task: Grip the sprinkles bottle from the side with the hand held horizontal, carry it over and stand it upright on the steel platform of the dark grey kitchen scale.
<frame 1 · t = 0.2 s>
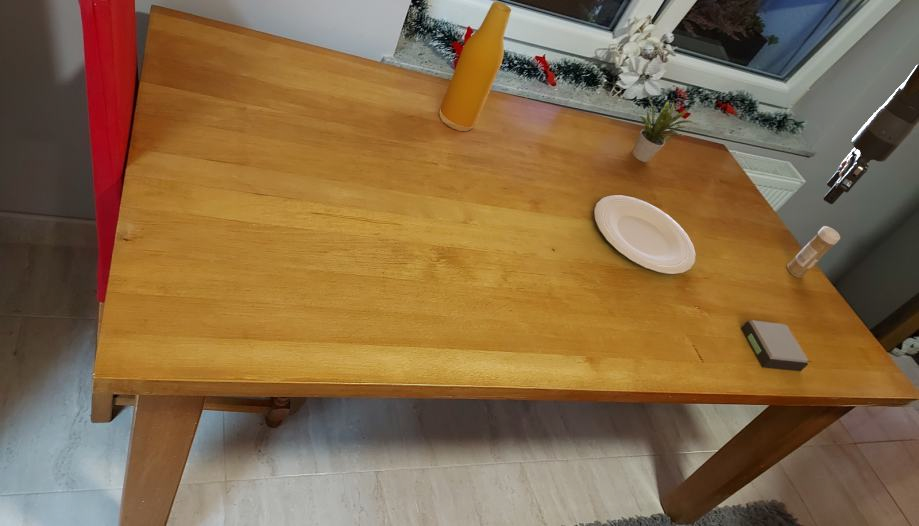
hand: (828, 194, 146), 23 cm above the table, tool pointing down, fingers open, 8 cm apart
plate: (640, 238, 153), on the table
scale: (770, 349, 140), on the table
house plant: (644, 159, 180), on the table
beer bottle: (455, 121, 161), on the table
sprinkles bottle: (793, 272, 166), on the table
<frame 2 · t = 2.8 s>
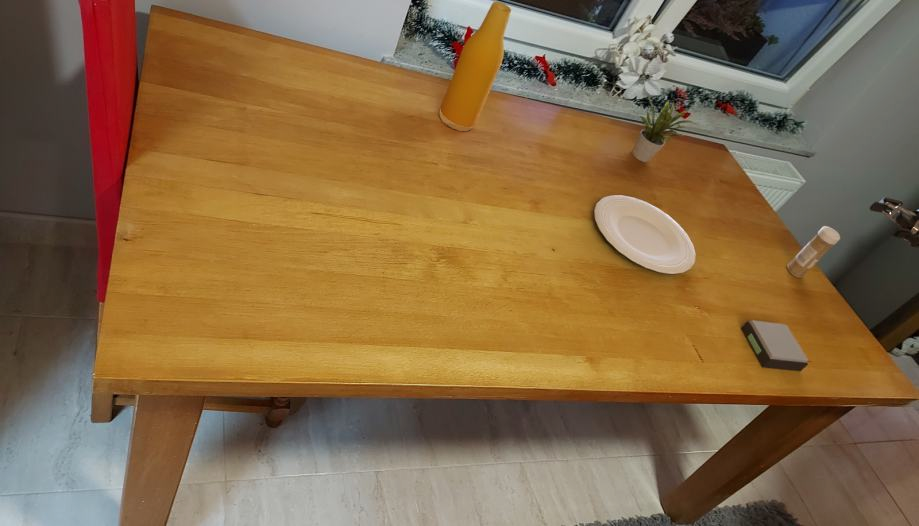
hand: (883, 218, 155), 20 cm above the table, tool horizontal, fingers open, 8 cm apart
nothing on the table moved.
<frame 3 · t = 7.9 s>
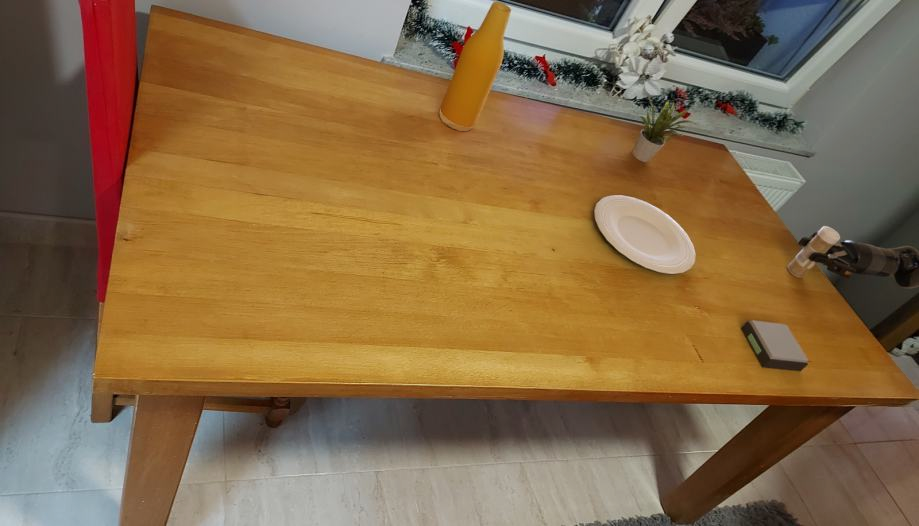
hand: (806, 248, 160), 8 cm above the table, tool horizontal, fingers closed on sprinkles bottle, 4 cm apart
sprinkles bottle: (793, 272, 166), on the table, touching gripper
everything else where it was.
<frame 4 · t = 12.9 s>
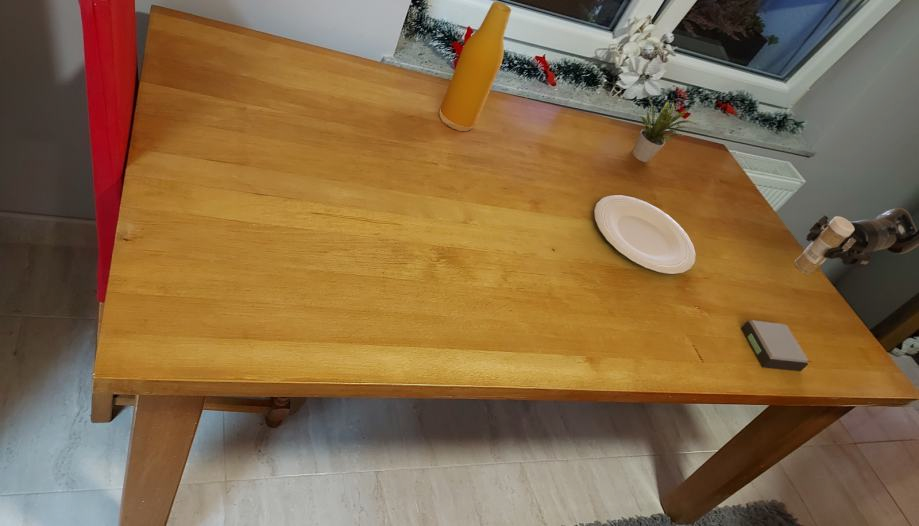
hand: (818, 245, 141), 17 cm above the table, tool horizontal, fingers closed on sprinkles bottle, 4 cm apart
sprinkles bottle: (801, 268, 147), point 10 cm above the table, touching gripper
everything else where it was.
when the fingers open (11 cm above the table, at t = 18.3 s): sprinkles bottle stays where it is, resting on scale.
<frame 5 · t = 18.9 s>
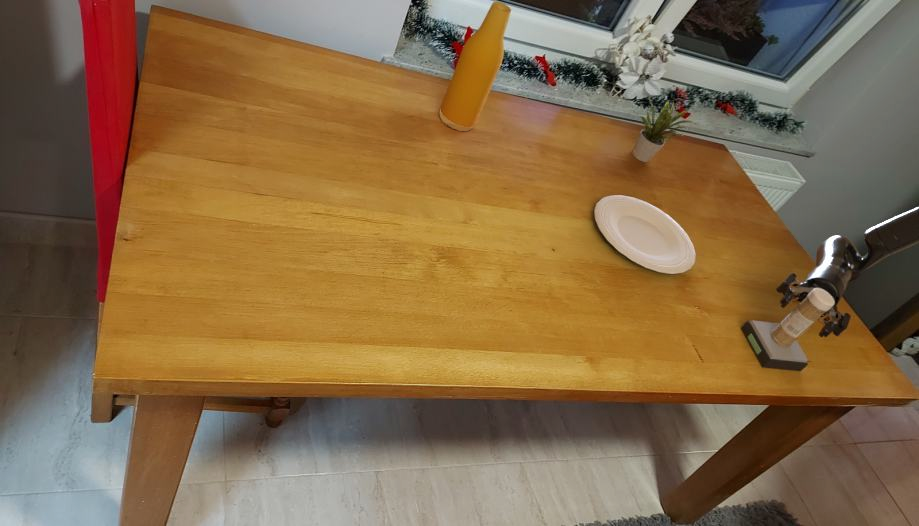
hand: (804, 318, 131), 11 cm above the table, tool horizontal, fingers open, 8 cm apart
sprinkles bottle: (779, 339, 138), point 3 cm above the table, touching scale
everything else where it was.
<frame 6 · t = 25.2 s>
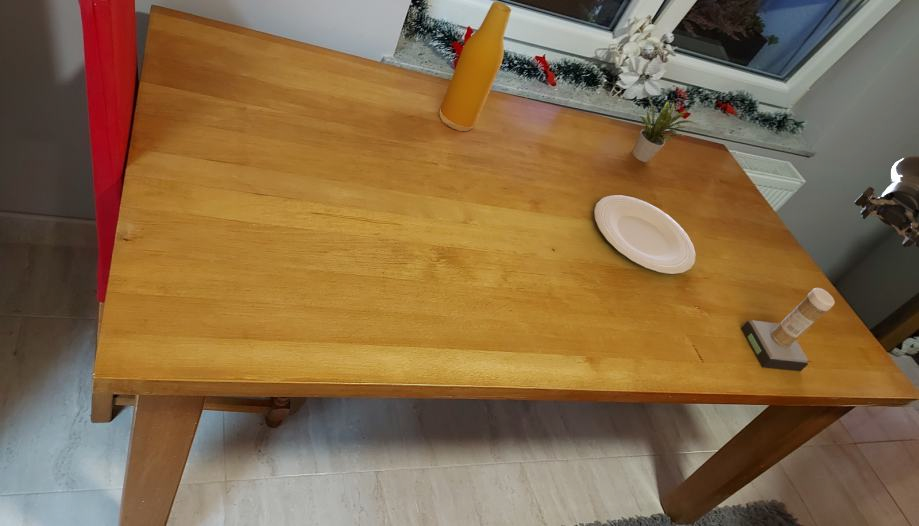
hand: (886, 228, 128), 30 cm above the table, tool horizontal, fingers open, 8 cm apart
nothing on the table moved.
at the end: sprinkles bottle inside the target area on the scale (0.2 cm from its centre), point 3.0 cm above the scale's base; sprinkles bottle tilted 0°; the gripper is holding nothing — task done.
